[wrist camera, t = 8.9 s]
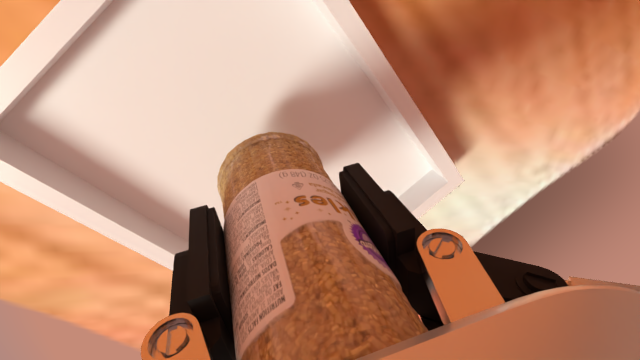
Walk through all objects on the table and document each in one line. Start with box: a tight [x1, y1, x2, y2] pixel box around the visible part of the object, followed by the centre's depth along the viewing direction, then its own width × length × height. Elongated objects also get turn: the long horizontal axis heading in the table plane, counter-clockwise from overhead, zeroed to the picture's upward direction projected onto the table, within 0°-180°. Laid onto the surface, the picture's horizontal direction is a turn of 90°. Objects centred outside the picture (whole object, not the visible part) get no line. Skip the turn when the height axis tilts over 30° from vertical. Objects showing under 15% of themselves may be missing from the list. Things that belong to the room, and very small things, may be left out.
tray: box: [0, 0, 465, 271], centre depth 16 cm, size 18×14×2 cm
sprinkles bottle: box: [217, 132, 428, 360], centre depth 9 cm, size 5×4×14 cm
